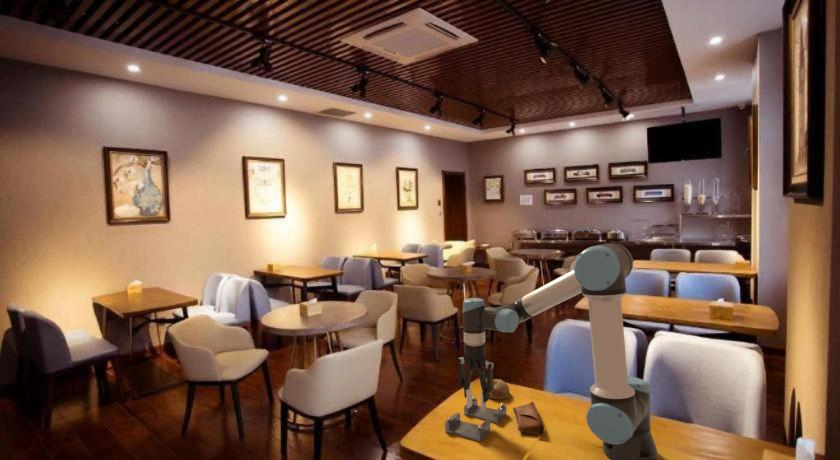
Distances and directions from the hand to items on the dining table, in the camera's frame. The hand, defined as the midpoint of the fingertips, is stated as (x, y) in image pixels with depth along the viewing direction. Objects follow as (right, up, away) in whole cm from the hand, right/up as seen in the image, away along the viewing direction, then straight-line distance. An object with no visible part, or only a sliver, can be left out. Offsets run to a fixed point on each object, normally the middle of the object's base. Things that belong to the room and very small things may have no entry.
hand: (476, 408), depth 155 cm
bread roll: (+9, -5, +22) cm, 24 cm away
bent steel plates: (0, -5, 0) cm, 5 cm away
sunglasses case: (+16, -6, -1) cm, 17 cm away
